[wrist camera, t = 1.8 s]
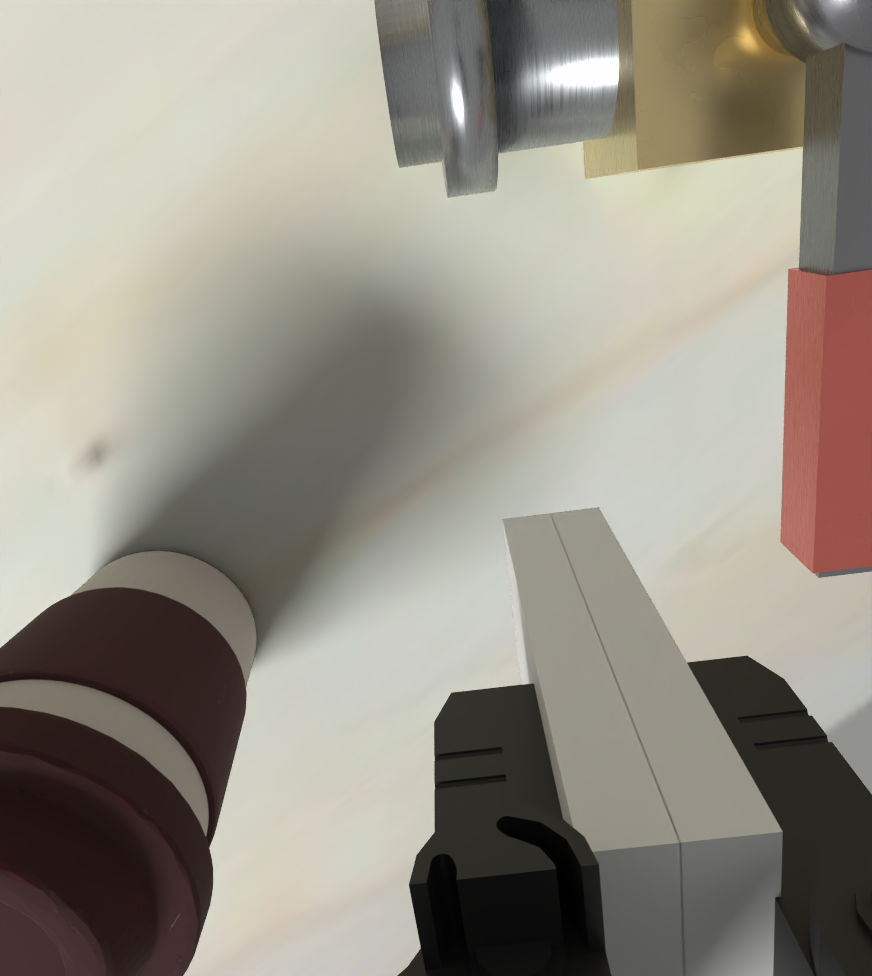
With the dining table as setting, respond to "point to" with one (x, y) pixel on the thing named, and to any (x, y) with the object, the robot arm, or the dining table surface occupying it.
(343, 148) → the dining table surface
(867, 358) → the lever
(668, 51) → the valve
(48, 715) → the coffee cup
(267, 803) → the dining table surface
